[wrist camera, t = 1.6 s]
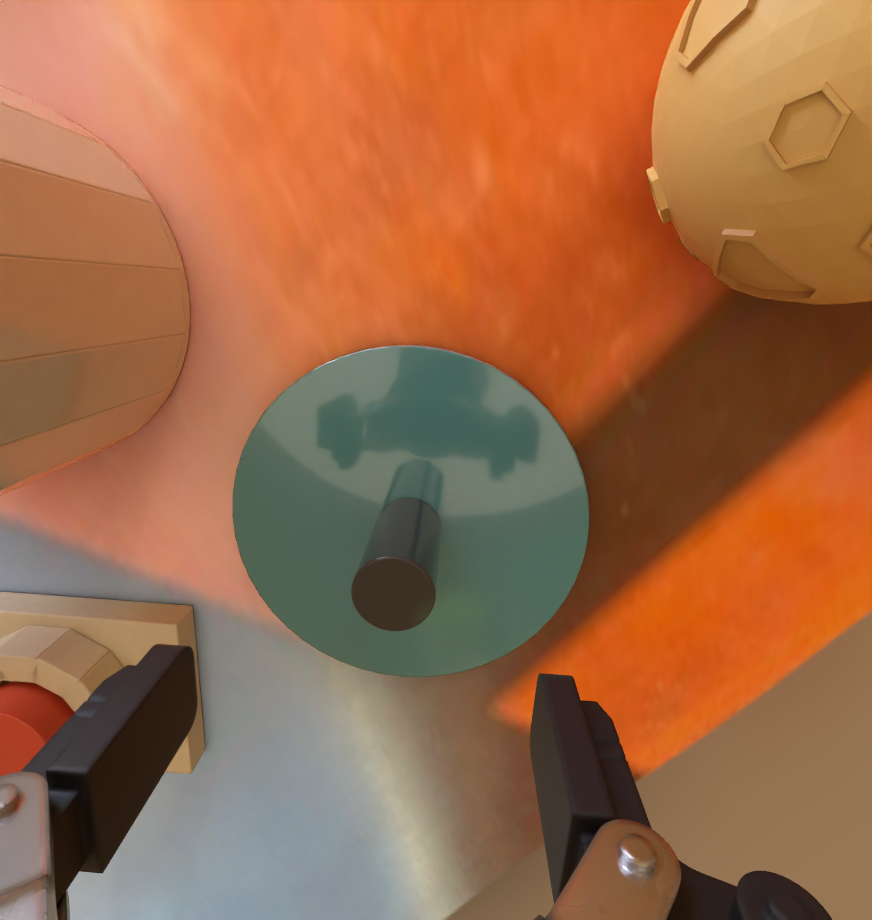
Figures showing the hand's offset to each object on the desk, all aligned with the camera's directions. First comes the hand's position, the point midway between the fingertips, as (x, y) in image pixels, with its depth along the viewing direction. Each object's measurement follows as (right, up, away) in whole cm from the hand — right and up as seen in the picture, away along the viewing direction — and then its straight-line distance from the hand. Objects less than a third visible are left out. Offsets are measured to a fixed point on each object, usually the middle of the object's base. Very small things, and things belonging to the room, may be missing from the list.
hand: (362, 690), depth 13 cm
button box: (-15, -5, +13) cm, 20 cm away
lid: (+1, +3, +9) cm, 10 cm away
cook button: (-15, -5, +10) cm, 19 cm away
